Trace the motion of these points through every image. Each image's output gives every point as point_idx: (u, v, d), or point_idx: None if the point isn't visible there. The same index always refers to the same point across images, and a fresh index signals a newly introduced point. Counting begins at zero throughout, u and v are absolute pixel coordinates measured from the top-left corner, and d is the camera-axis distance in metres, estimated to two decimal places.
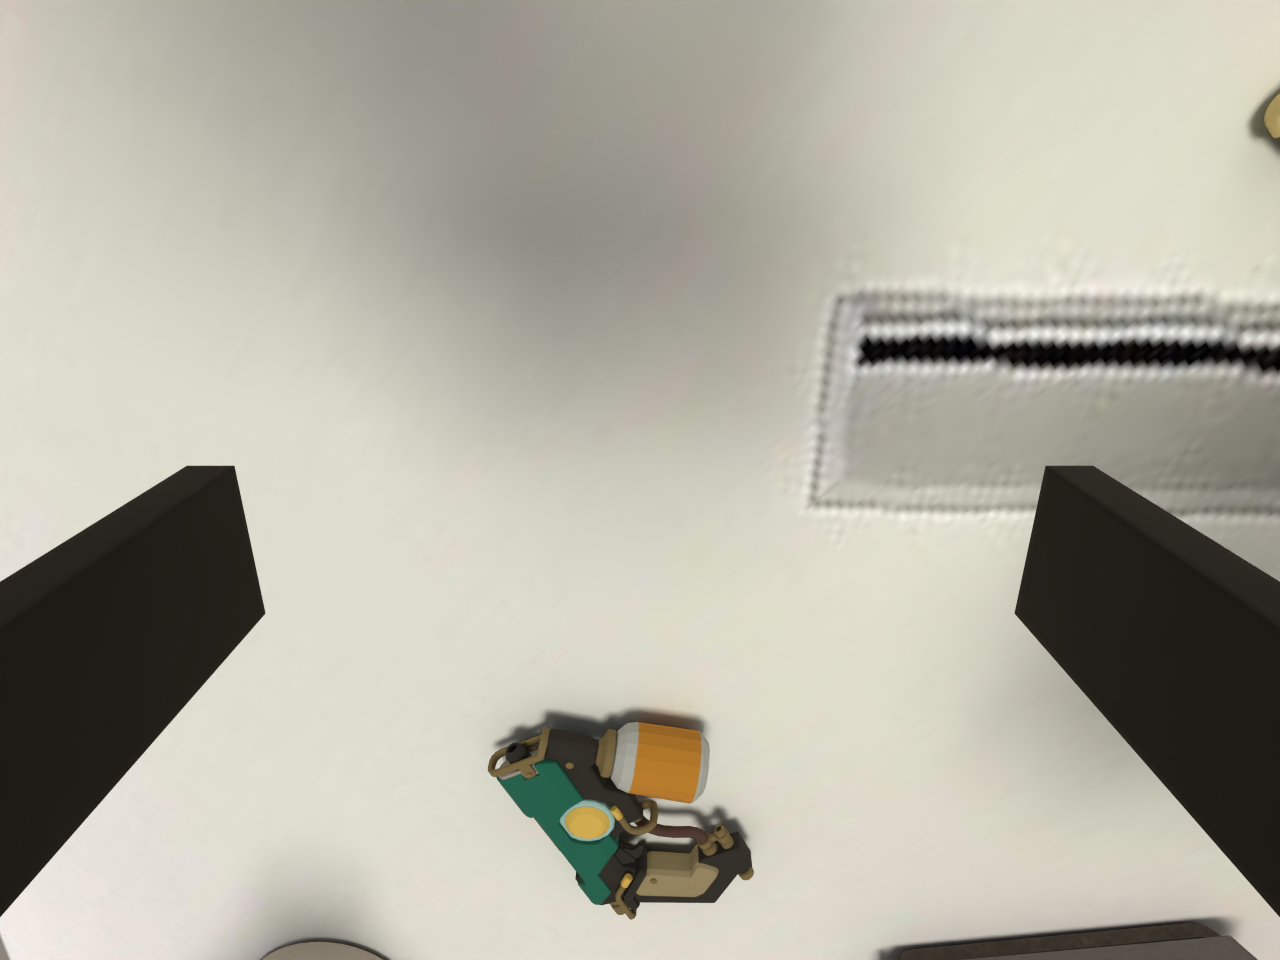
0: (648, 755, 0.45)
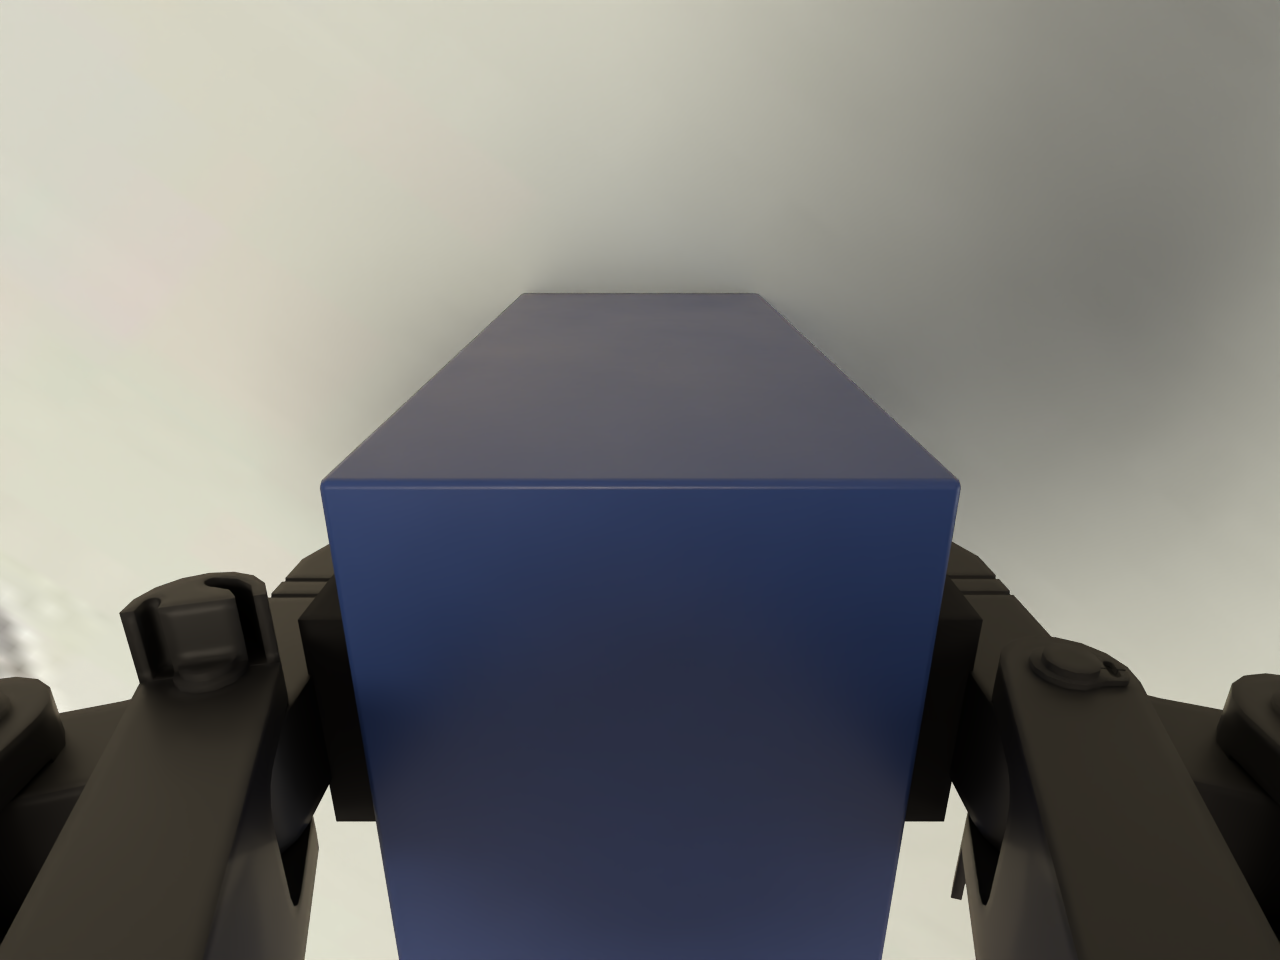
0: None
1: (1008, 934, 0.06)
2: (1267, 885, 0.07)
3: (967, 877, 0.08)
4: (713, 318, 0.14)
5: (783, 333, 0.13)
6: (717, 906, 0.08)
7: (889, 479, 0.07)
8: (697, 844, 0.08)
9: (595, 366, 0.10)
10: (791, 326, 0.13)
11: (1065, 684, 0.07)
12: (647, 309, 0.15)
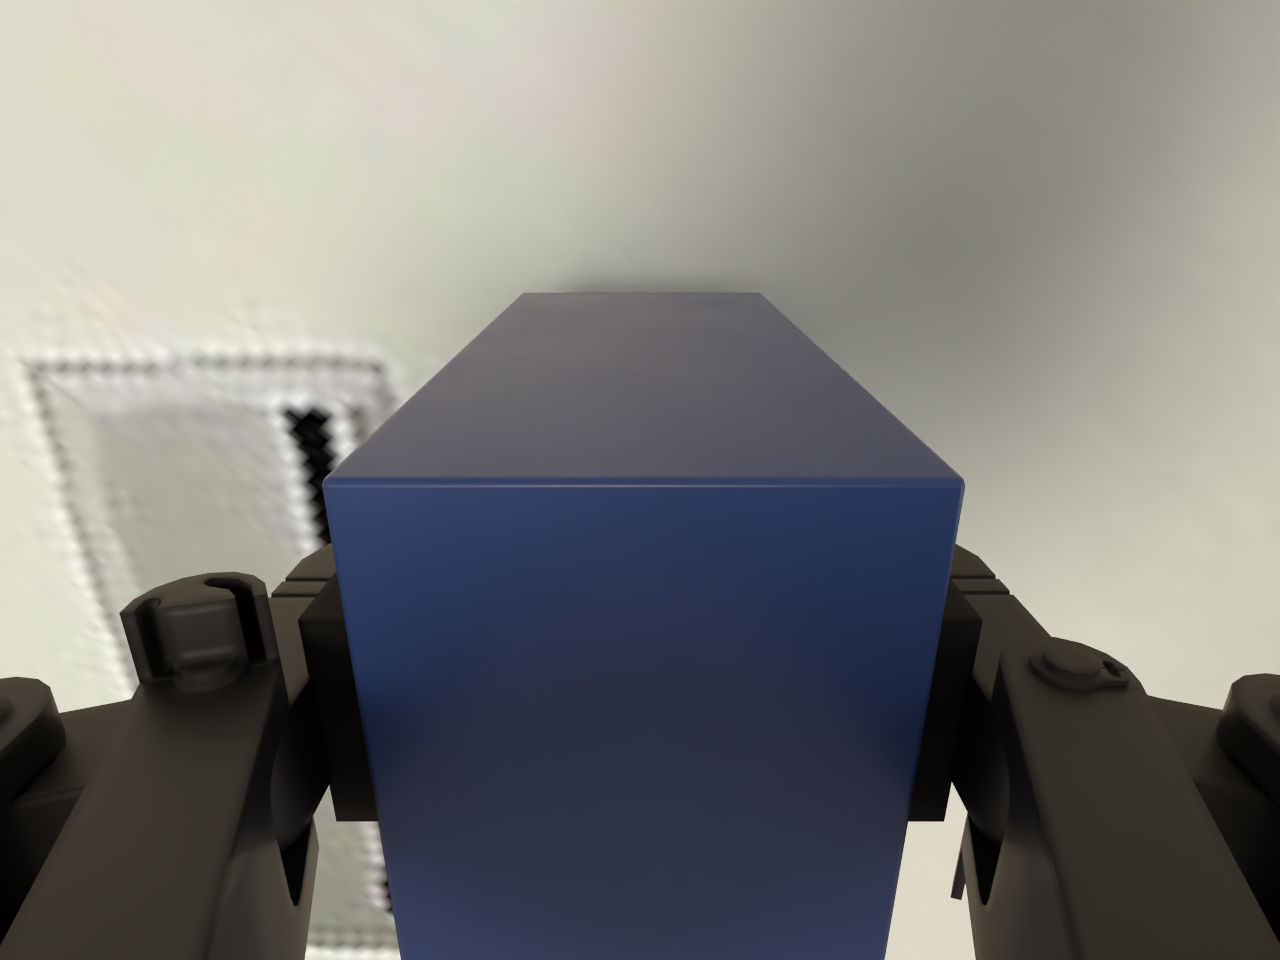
0: None
1: (1007, 934, 0.06)
2: (1267, 885, 0.07)
3: (967, 877, 0.08)
4: (715, 317, 0.14)
5: (785, 332, 0.13)
6: (720, 906, 0.08)
7: (893, 478, 0.07)
8: (700, 844, 0.08)
9: (597, 365, 0.10)
10: (793, 325, 0.13)
11: (1065, 685, 0.07)
12: (648, 308, 0.15)
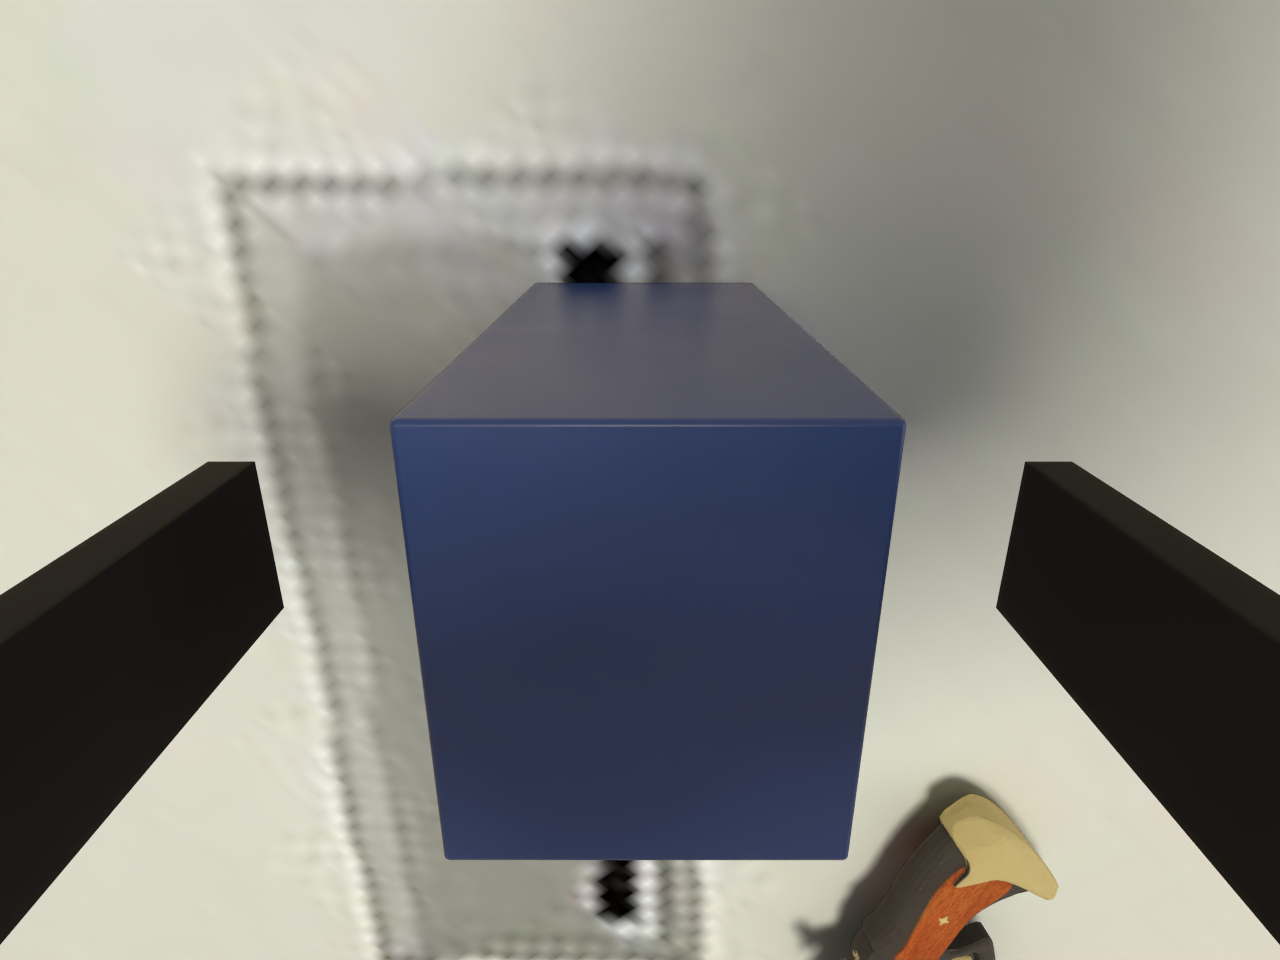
0: None
1: None
2: None
3: None
4: (710, 303, 0.16)
5: (772, 315, 0.14)
6: (711, 788, 0.10)
7: (848, 419, 0.08)
8: (693, 733, 0.09)
9: (606, 340, 0.12)
10: (780, 309, 0.15)
11: None
12: (650, 296, 0.17)
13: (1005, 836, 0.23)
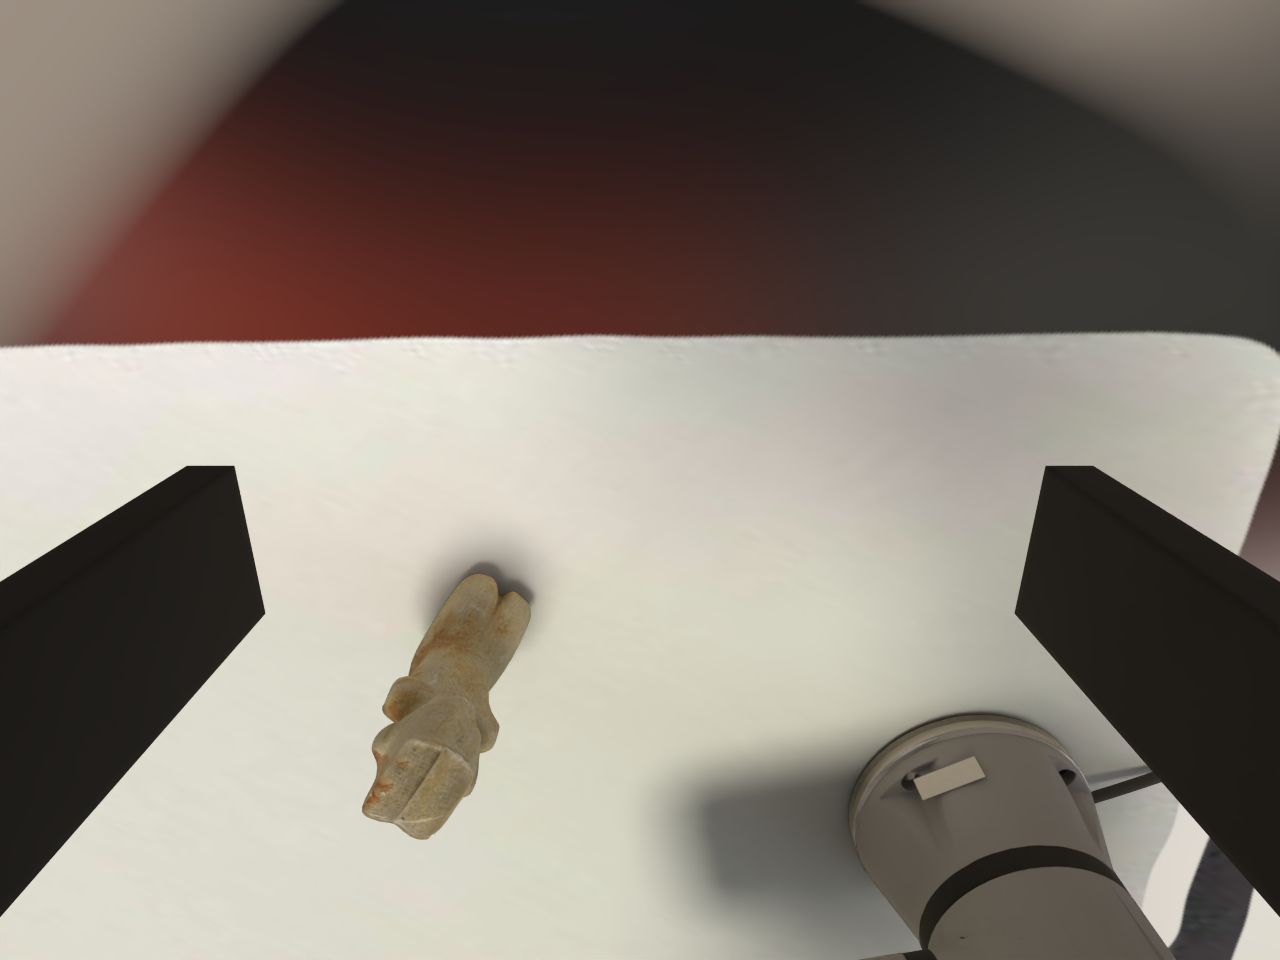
0: None
1: None
2: None
3: None
4: None
5: None
6: None
7: None
8: None
9: None
10: None
11: None
12: None
13: None
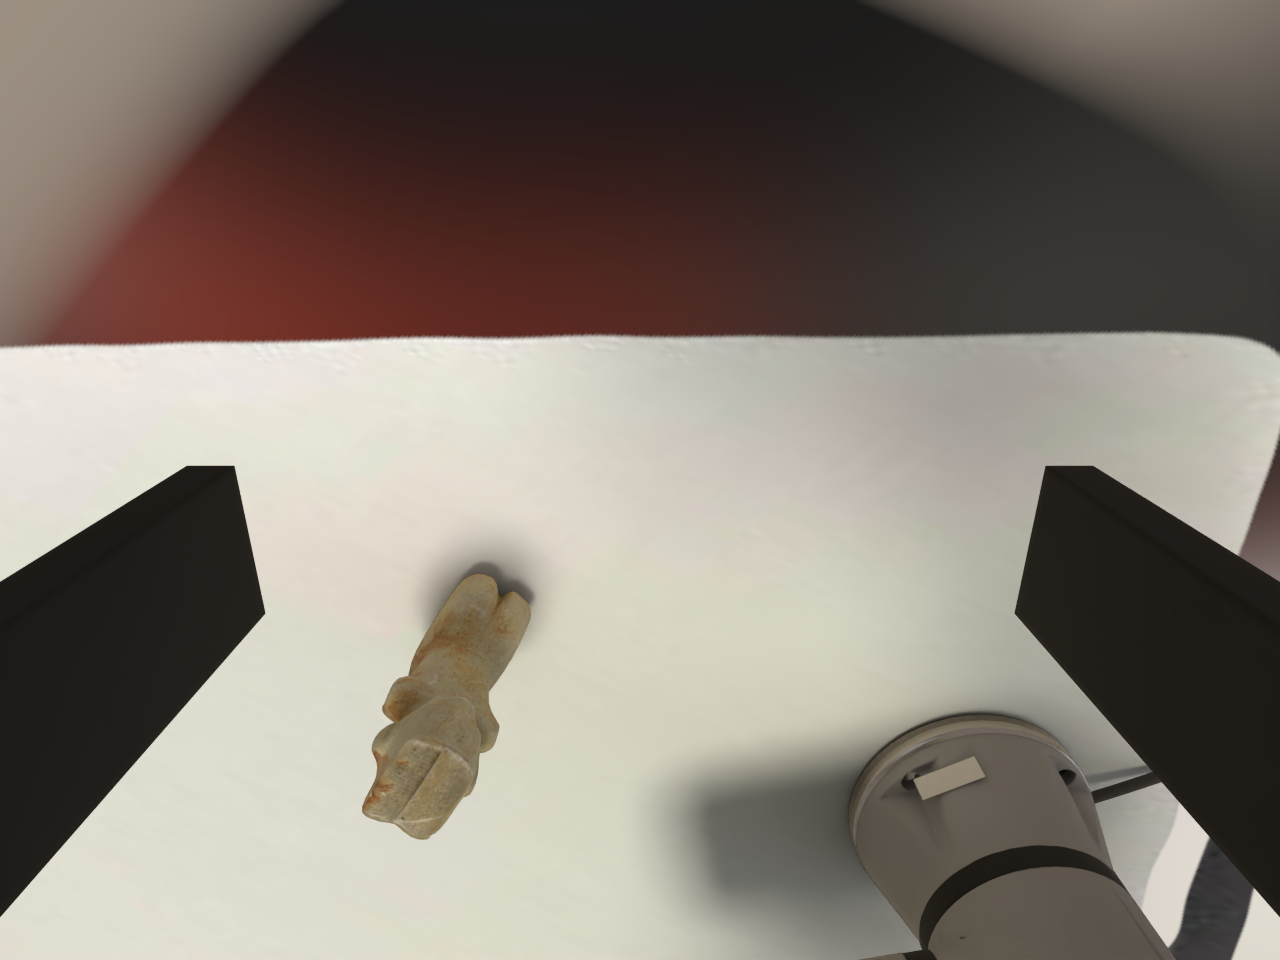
0: None
1: None
2: None
3: None
4: None
5: None
6: None
7: None
8: None
9: None
10: None
11: None
12: None
13: None
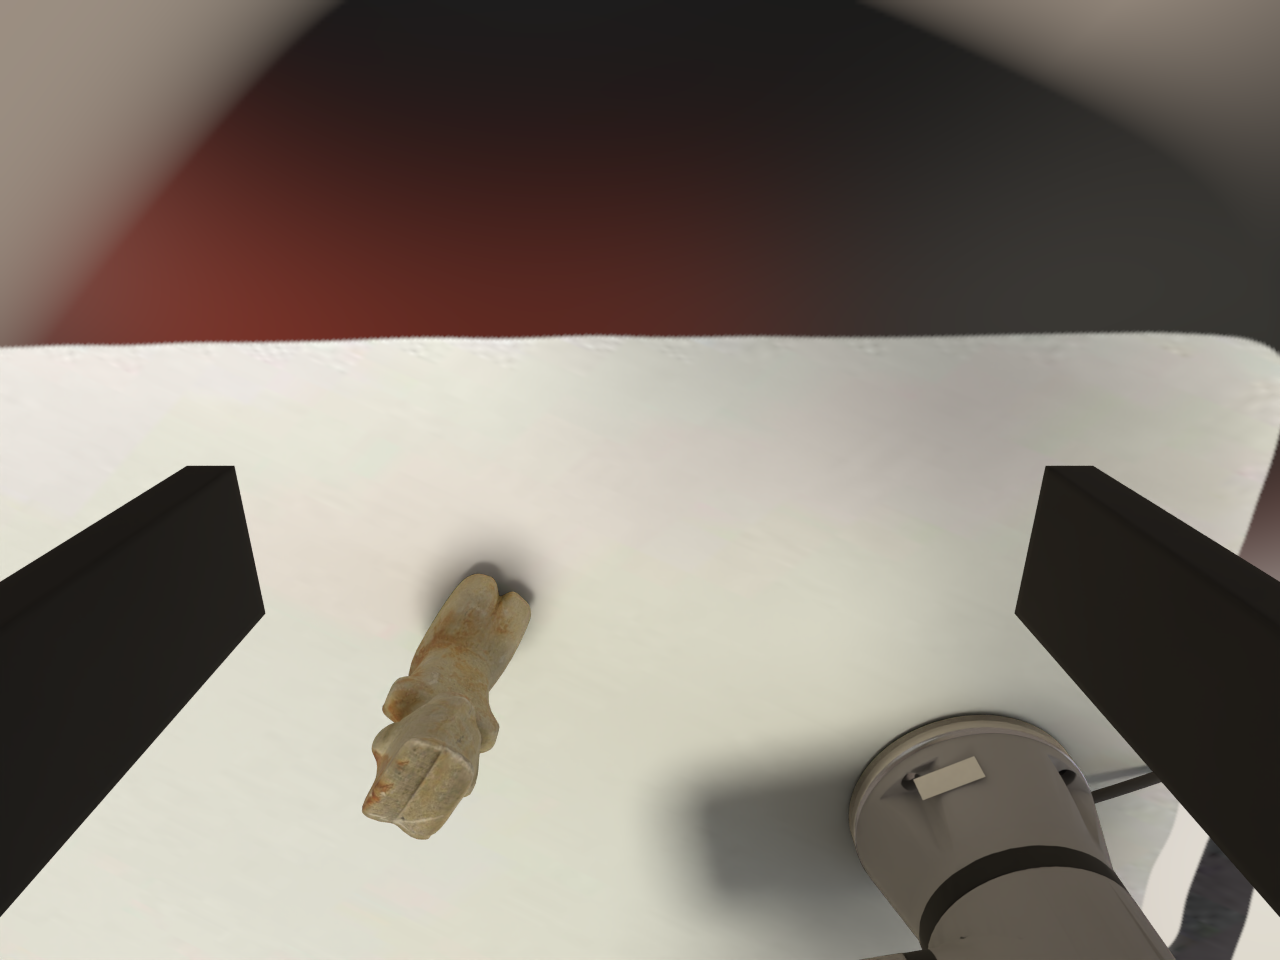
0: None
1: None
2: None
3: None
4: None
5: None
6: None
7: None
8: None
9: None
10: None
11: None
12: None
13: None
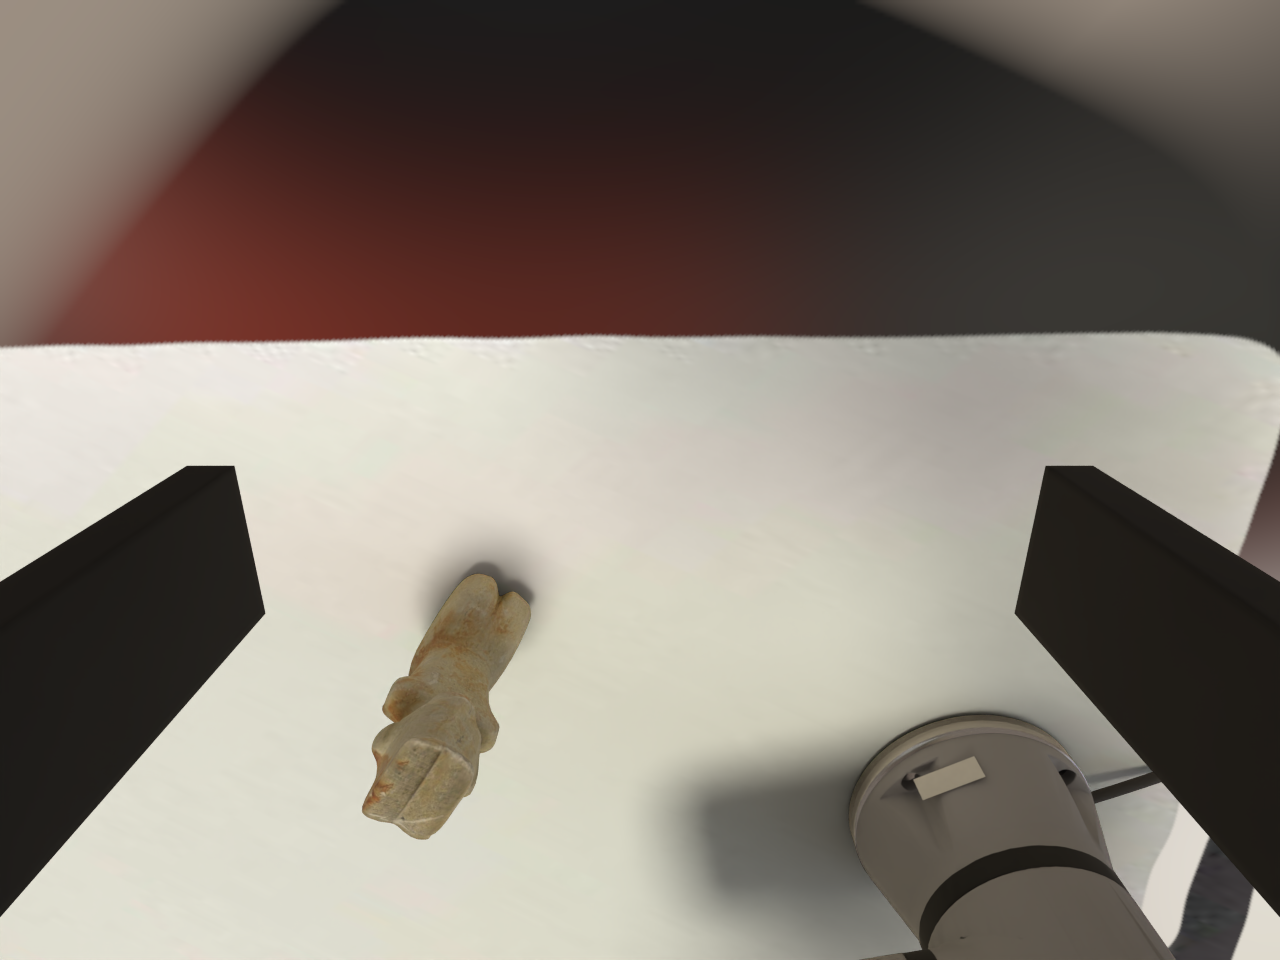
0: None
1: None
2: None
3: None
4: None
5: None
6: None
7: None
8: None
9: None
10: None
11: None
12: None
13: None
